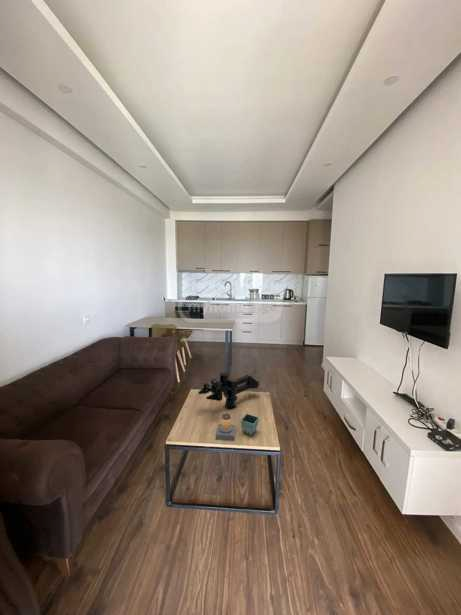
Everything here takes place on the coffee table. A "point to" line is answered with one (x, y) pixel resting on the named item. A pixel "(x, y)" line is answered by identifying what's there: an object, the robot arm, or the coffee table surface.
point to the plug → (226, 424)
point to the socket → (225, 434)
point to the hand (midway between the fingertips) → (202, 395)
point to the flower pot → (249, 423)
